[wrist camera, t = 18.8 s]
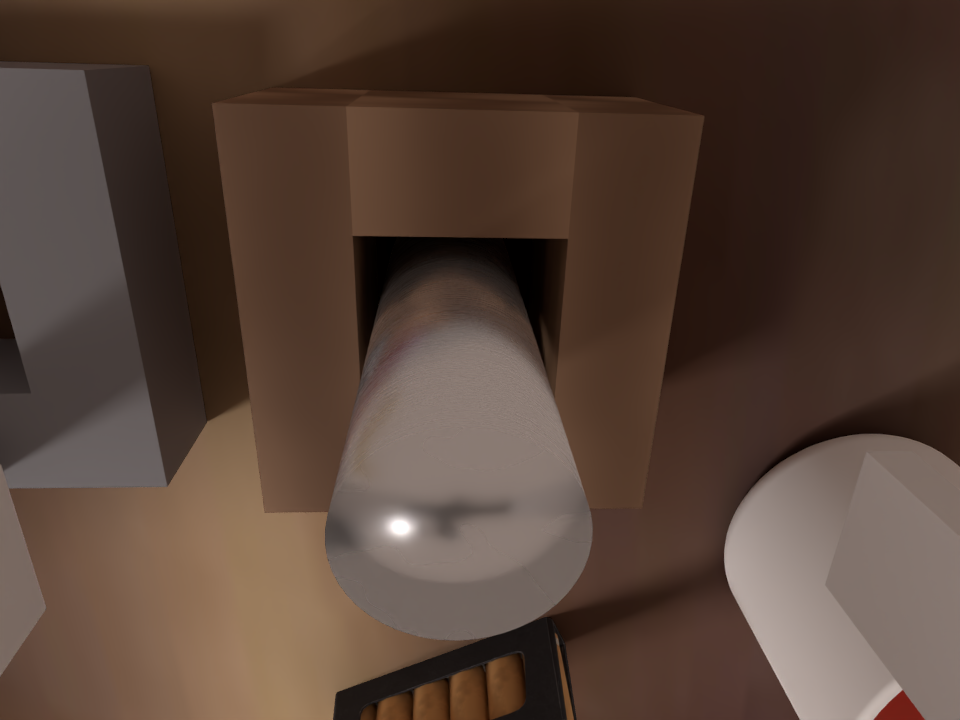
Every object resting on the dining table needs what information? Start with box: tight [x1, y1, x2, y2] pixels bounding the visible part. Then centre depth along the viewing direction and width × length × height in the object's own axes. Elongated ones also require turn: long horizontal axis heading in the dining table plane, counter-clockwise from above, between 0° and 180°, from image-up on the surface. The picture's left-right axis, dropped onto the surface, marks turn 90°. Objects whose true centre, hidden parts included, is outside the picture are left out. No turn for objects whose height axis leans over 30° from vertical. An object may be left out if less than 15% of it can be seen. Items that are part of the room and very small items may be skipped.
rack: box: [212, 87, 705, 513], centre depth 20 cm, size 11×11×6 cm
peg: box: [325, 236, 592, 640], centre depth 16 cm, size 4×4×14 cm
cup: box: [724, 434, 960, 720], centre depth 24 cm, size 10×10×10 cm
